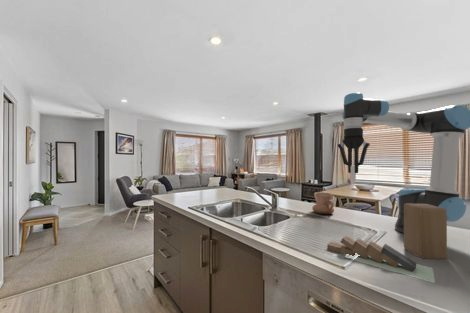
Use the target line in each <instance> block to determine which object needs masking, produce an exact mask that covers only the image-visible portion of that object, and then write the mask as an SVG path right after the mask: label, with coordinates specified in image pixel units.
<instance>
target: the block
mask: <svg viewBox="0 0 470 313" xmlns="http://www.w3.org/2000/svg"><path fill="white" fill-rule="evenodd" d="M447 223H448V221H447V211H446V209H444V208H440V207H437V206H433V205H429V204H412V203H406V204H404V233H403V248H404V250H407V251H408V252H410V253H411V254H413V255H415V256H416V257H418V258H420V259H428V260H429V259H431V260H447V259H448V253H447V251H448V243H447V242H448V238H447V237H448V234H447V233H448V232H447V231H448V226H447V225H448V224H447Z"/></svg>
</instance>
